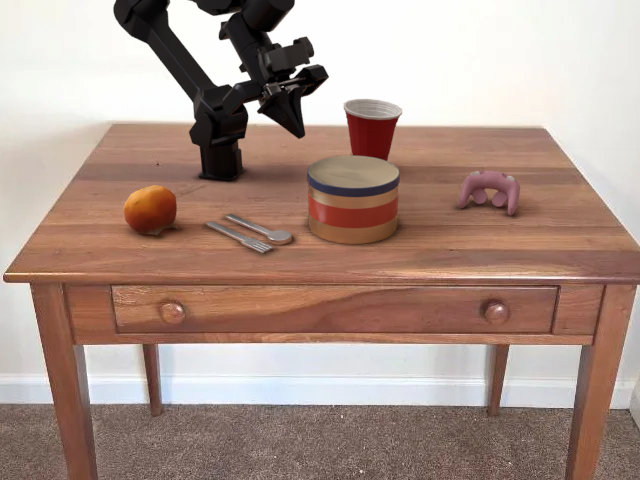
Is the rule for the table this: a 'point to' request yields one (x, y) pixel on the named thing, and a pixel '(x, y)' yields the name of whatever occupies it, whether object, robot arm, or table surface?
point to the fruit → (151, 210)
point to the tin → (353, 199)
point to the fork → (241, 238)
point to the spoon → (263, 231)
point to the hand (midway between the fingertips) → (302, 137)
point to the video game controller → (490, 180)
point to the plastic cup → (371, 126)
